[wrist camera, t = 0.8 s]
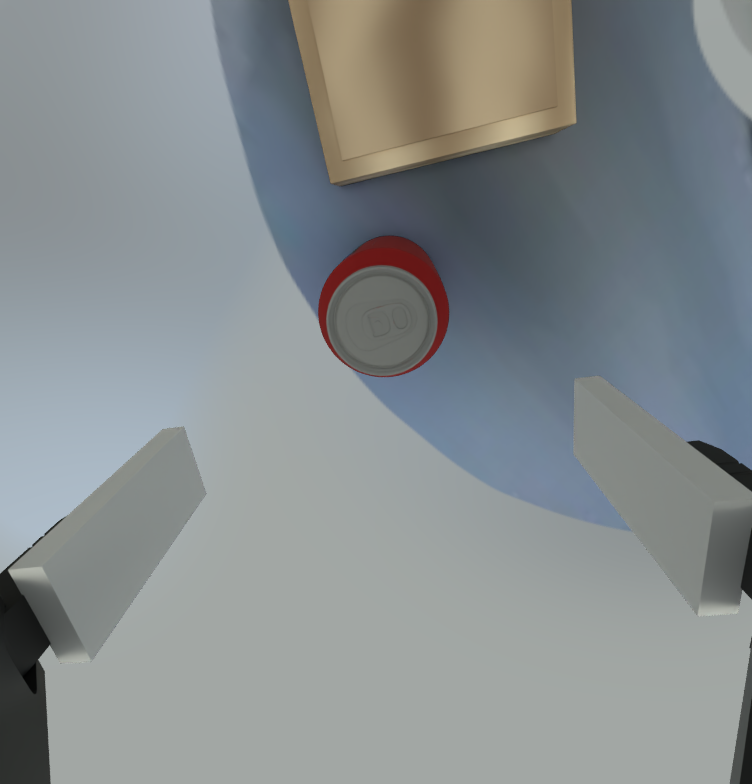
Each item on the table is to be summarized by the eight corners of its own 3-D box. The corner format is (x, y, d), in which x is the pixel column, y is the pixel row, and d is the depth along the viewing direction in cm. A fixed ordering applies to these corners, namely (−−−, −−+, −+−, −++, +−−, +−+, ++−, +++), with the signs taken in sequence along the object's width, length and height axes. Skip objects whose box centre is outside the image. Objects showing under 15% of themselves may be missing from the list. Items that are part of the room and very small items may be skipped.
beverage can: (331, 250, 32) (291, 273, 21) (424, 221, 30) (434, 230, 19) (359, 338, 34) (336, 403, 23) (445, 315, 33) (466, 371, 22)
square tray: (536, -171, 23) (563, -248, 19) (553, 133, 28) (578, 122, 24) (279, -84, 25) (255, -138, 21) (339, 186, 30) (330, 183, 26)
